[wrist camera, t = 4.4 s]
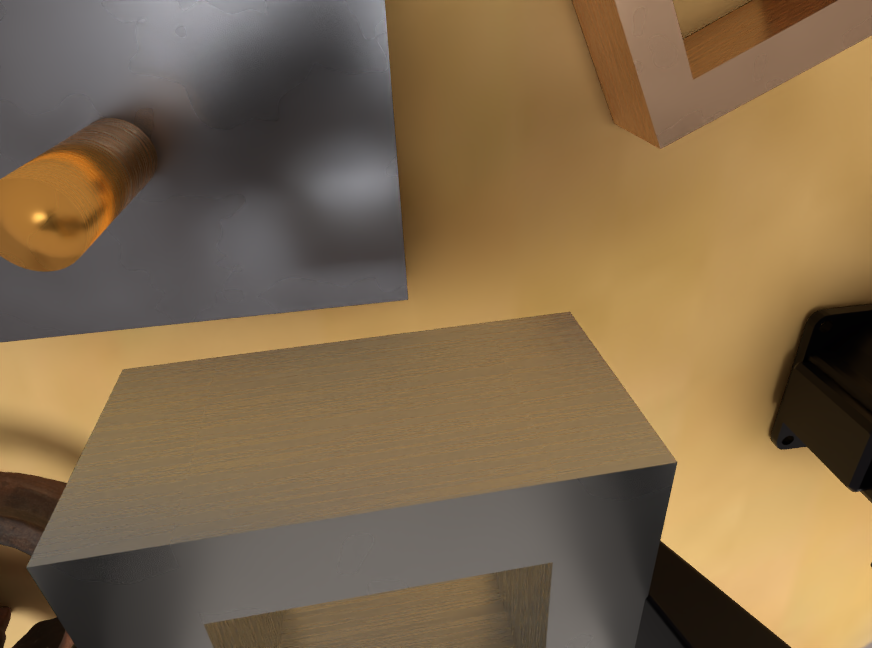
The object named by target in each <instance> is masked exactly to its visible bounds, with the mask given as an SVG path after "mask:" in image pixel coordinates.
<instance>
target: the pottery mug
mask: <svg viewBox="0 0 872 648" xmlns="http://www.w3.org/2000/svg"><path fill="white" fill-rule="evenodd" d="M66 485H67V483H64V482H60V481H56V480H52V479H46V478H42V477H39V476H33V475H27V474H22V473H12V472H0V544H2V545H5V546H9V547H13V548H16V549H18V550H20V551H22V552H25V553H27V554H29V555H30V556H32V555H33V553H34V550H35V548H36V546H37V544H38V542H39V540H40V538H41V536H42V534H43V532H44V530H45V528H46V526H47V524H48V522H49V520H50V518H51V516H52V514H53V512H54V510H55V508H56V505H57V503H58V501H59V499H60V497H61V495H62V493H63V491H64V489H65V487H66ZM10 617H11V609H10V608H9V607H3V608H0V648H3V647H4V643H5V640H6V635H5V631H6V629H7V626H8V624H9V621H10ZM73 644H74V643H73V641H72V639H71V638H70V636H69V635H68V633H67V631H66V630H65V628H64V627H63V625H62V624H61V622H60V620H59V619H58V617H56V618H54V619H51V620H44V621H41V622H38V623H37V624H35V625H34V626H33V627H32V628H31V629H30V630H29V631H28V633H27V634H26V635H24V636H23V637H22V638H21V639H20V640H19V641H18V642H17V643H16V644H15V645H14V646H13V647H12V648H71V647H72V645H73Z"/></svg>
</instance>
